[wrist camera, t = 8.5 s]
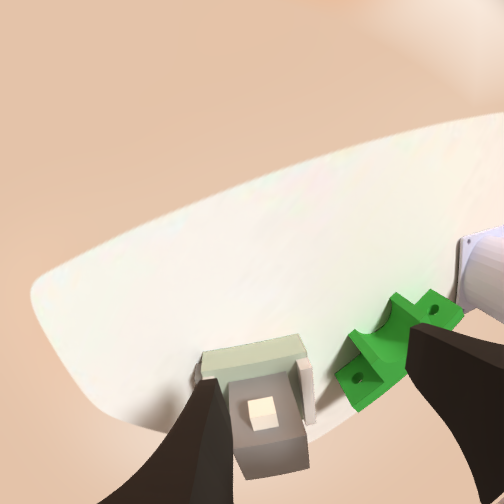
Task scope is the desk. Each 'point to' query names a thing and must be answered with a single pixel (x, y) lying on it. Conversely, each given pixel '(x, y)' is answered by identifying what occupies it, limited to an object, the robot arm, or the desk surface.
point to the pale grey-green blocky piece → (264, 368)
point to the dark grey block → (267, 427)
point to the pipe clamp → (391, 346)
